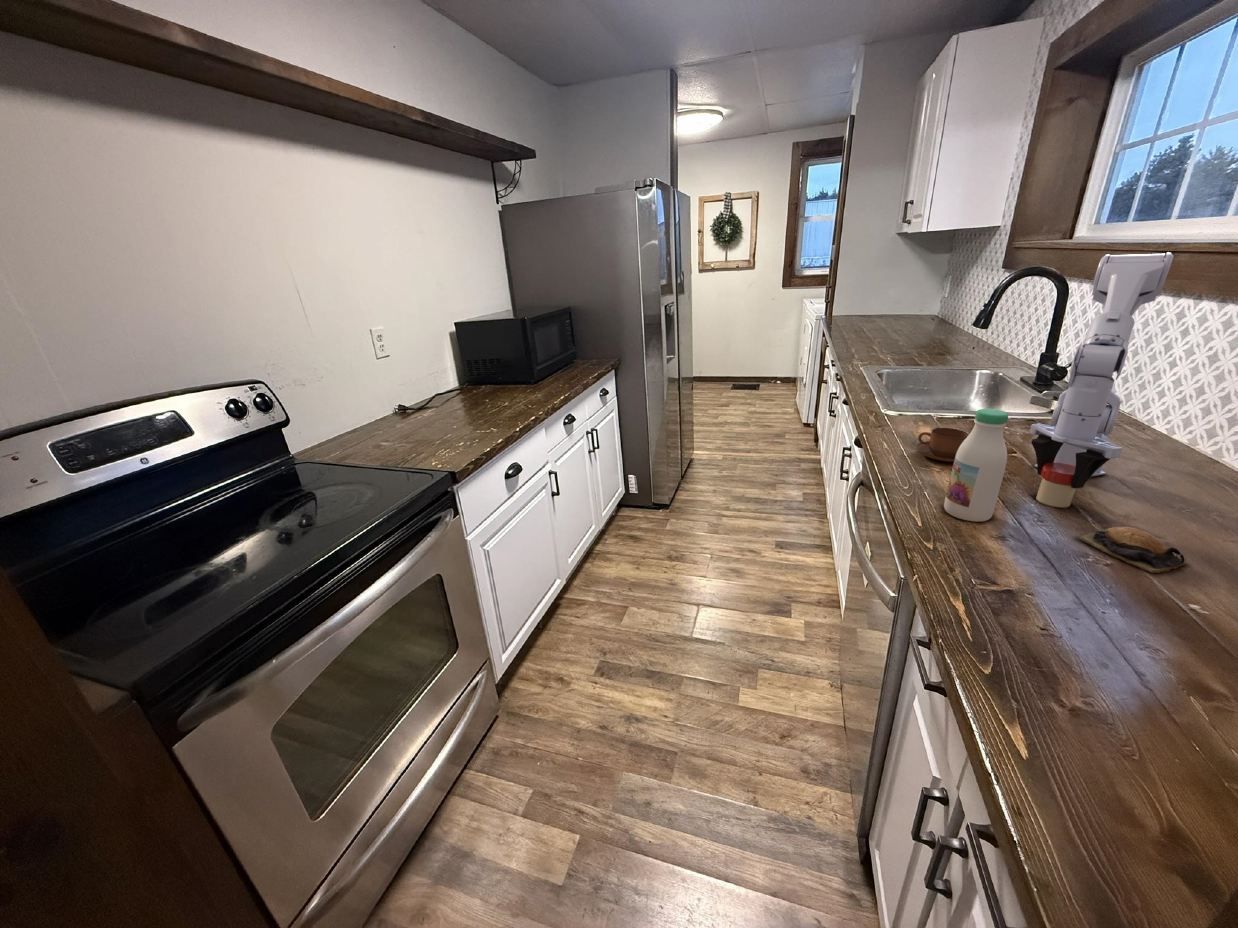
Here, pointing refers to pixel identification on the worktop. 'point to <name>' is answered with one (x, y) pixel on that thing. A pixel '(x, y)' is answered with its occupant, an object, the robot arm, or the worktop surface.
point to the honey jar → (1055, 494)
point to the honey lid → (1058, 473)
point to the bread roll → (1136, 548)
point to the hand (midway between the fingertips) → (1059, 480)
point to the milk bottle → (978, 468)
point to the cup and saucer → (942, 443)
